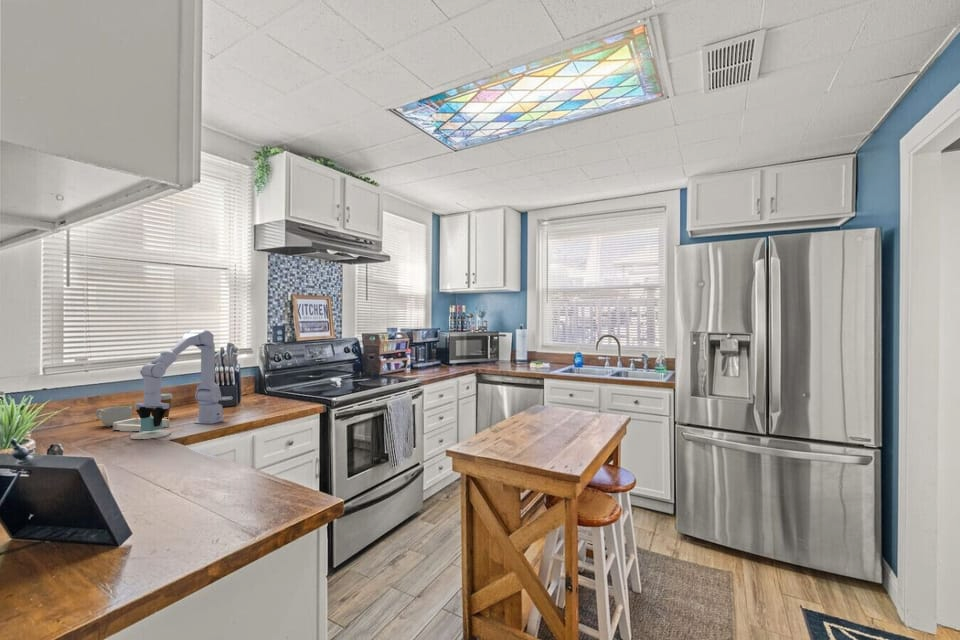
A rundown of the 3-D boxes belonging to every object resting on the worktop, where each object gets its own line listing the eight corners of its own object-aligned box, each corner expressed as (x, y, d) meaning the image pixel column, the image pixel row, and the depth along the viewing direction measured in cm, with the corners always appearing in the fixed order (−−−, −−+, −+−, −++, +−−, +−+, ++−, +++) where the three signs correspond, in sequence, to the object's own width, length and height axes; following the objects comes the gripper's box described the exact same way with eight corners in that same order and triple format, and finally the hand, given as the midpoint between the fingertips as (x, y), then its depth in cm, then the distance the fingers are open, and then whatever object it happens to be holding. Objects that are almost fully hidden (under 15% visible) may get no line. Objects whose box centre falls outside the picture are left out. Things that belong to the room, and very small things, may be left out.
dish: (178, 433, 178) (178, 430, 178) (149, 440, 165) (149, 438, 165) (151, 431, 180) (151, 429, 180) (121, 439, 167) (121, 436, 167)
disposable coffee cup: (142, 420, 203) (143, 395, 204) (162, 416, 212) (163, 393, 213) (157, 421, 201) (158, 396, 201) (176, 418, 210) (177, 393, 210)
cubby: (169, 426, 190) (169, 418, 190) (146, 432, 179) (146, 423, 179) (137, 425, 193) (137, 417, 193) (112, 430, 182) (113, 422, 182)
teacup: (137, 423, 197) (138, 406, 197) (115, 428, 186) (116, 410, 186) (110, 422, 198) (111, 405, 198) (87, 427, 187) (87, 409, 188)
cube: (162, 428, 176) (162, 416, 176) (151, 431, 171) (151, 418, 171) (151, 428, 177) (152, 416, 177) (140, 430, 172) (140, 418, 172)
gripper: (127, 393, 172) (126, 427, 171) (158, 394, 169) (157, 428, 169) (144, 391, 179) (143, 423, 178) (174, 392, 176) (173, 424, 176)
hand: (151, 425), depth 174 cm, fingers closed on cube, 5 cm apart
